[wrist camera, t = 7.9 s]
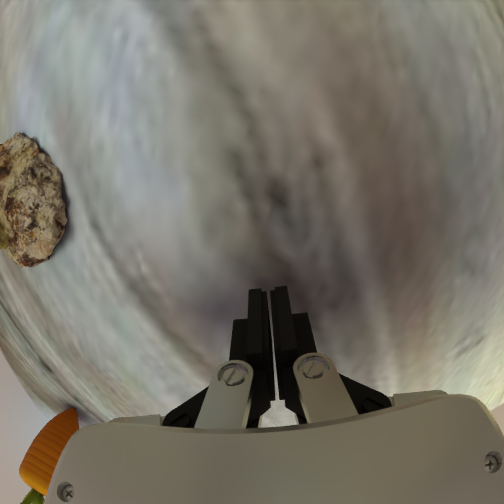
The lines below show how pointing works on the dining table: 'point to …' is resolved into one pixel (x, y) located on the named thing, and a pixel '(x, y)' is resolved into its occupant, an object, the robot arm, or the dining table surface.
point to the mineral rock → (29, 202)
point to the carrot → (46, 454)
